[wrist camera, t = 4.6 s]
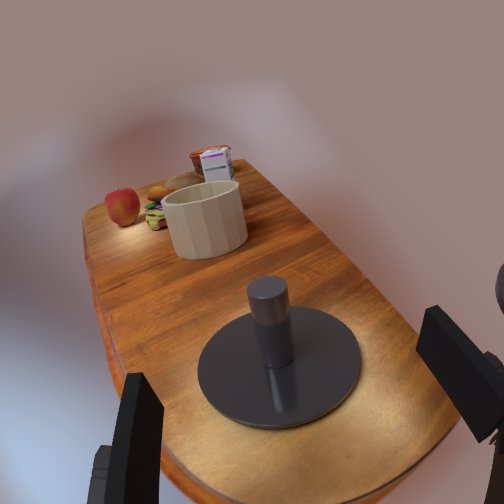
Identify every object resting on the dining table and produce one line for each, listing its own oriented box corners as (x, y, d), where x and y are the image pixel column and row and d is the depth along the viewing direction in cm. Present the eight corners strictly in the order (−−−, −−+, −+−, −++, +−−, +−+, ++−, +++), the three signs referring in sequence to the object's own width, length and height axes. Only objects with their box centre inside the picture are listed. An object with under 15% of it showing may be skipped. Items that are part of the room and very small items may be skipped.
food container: (186, 181, 112) (180, 155, 107) (214, 170, 122) (210, 146, 117) (214, 181, 102) (208, 151, 97) (243, 170, 112) (238, 143, 108)
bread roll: (215, 196, 82) (209, 169, 79) (163, 210, 79) (156, 182, 75) (209, 190, 90) (204, 165, 87) (163, 202, 87) (156, 177, 84)
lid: (367, 320, 28) (372, 245, 24) (341, 448, 16) (352, 379, 13) (240, 307, 34) (225, 240, 30) (171, 403, 23) (131, 332, 19)
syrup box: (238, 212, 65) (226, 148, 59) (212, 216, 66) (199, 153, 59) (240, 205, 70) (229, 145, 64) (216, 208, 71) (204, 150, 65)
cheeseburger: (137, 231, 66) (132, 189, 64) (166, 223, 75) (163, 186, 73) (168, 231, 61) (163, 184, 59) (197, 223, 71) (193, 182, 68)
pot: (259, 226, 56) (251, 178, 52) (226, 262, 45) (213, 203, 41) (199, 226, 61) (189, 183, 57) (160, 257, 51) (145, 207, 46)
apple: (143, 224, 70) (132, 187, 66) (109, 235, 69) (97, 198, 64) (145, 214, 79) (136, 180, 74) (114, 223, 77) (104, 190, 73)
